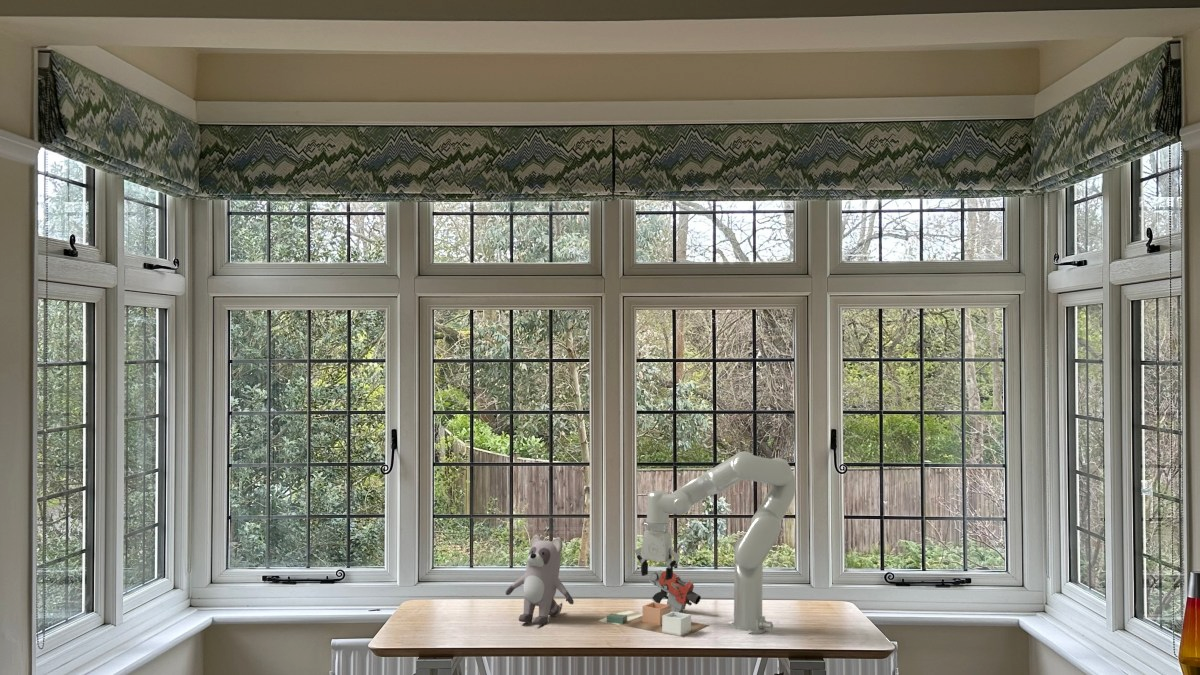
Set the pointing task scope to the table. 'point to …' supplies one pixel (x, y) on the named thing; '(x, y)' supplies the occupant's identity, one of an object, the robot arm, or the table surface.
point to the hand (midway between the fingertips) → (656, 577)
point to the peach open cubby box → (654, 613)
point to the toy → (541, 581)
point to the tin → (617, 618)
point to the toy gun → (674, 591)
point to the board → (636, 622)
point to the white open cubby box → (676, 623)
